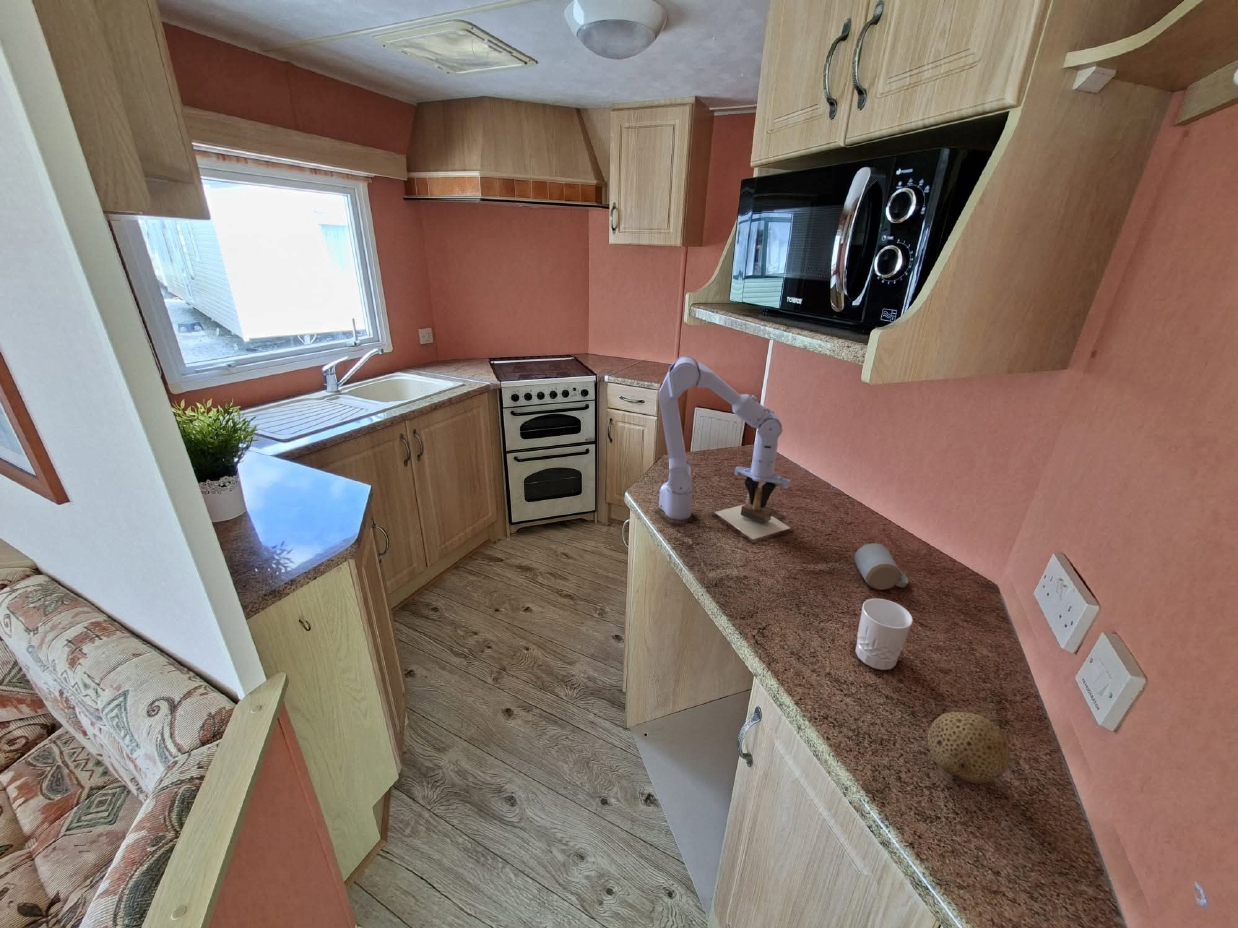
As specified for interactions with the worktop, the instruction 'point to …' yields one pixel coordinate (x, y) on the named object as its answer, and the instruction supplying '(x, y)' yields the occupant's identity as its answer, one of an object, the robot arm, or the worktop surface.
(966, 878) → the worktop surface
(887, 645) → the white cup
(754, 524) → the tile
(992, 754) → the natural sponge
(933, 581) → the worktop surface
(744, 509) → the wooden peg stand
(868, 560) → the ceramic mug
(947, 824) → the worktop surface
